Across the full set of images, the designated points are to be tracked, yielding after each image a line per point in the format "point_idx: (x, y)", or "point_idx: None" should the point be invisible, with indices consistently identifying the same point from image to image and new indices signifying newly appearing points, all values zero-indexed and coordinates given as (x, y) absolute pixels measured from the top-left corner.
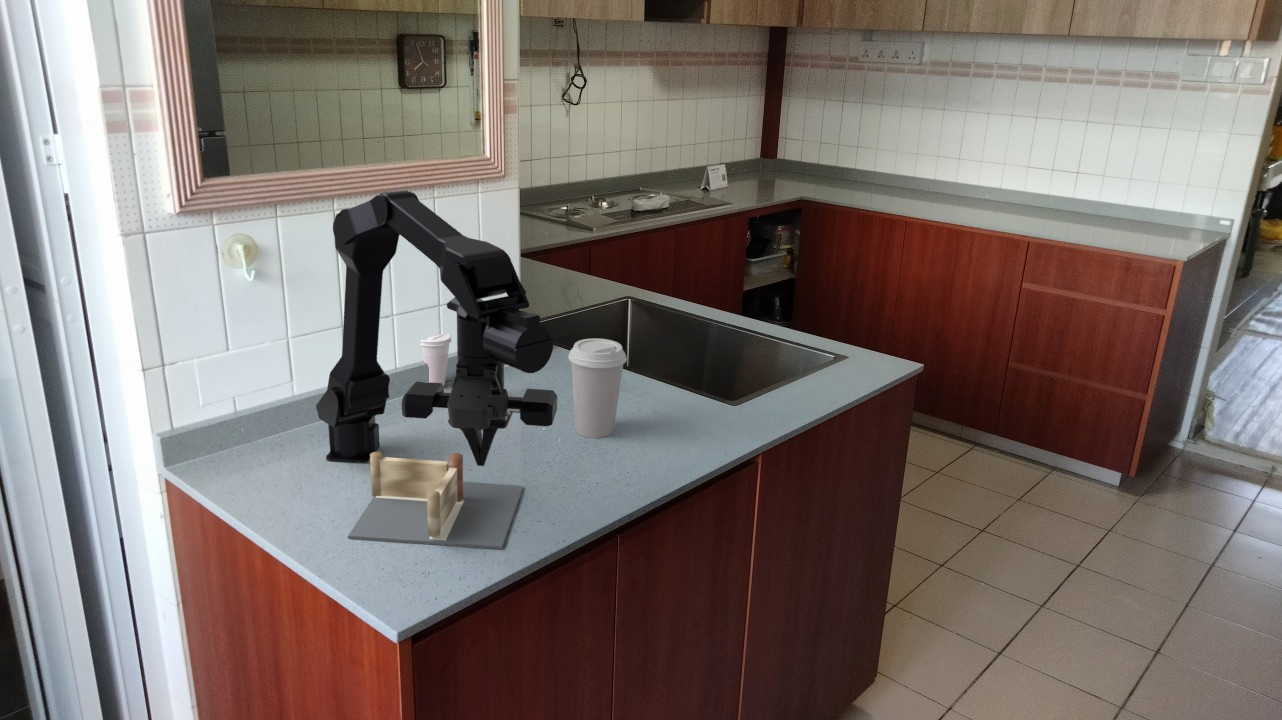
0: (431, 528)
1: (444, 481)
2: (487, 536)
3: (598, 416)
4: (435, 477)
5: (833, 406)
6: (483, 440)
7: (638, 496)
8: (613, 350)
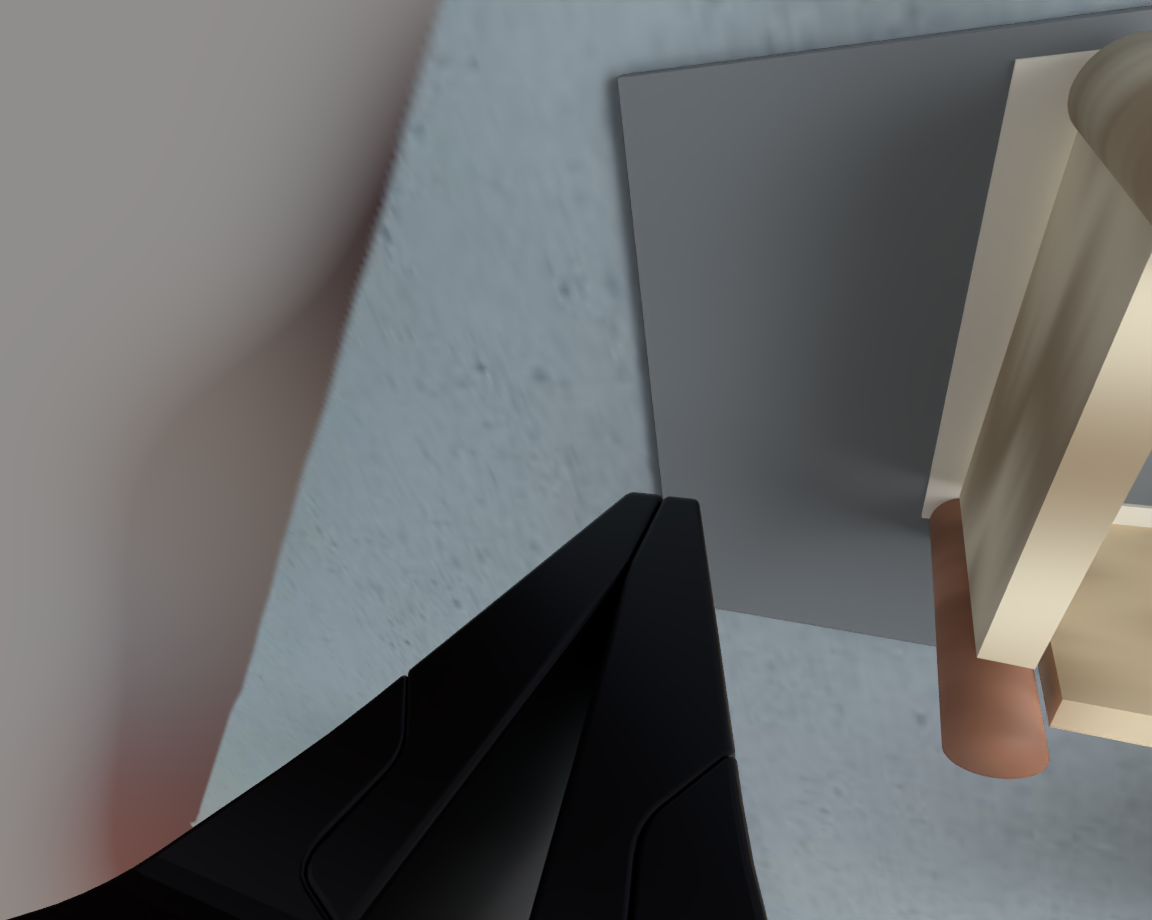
0: None
1: (1083, 511)
2: (727, 179)
3: None
4: (1135, 631)
5: (211, 774)
6: (432, 779)
7: (321, 533)
8: None
